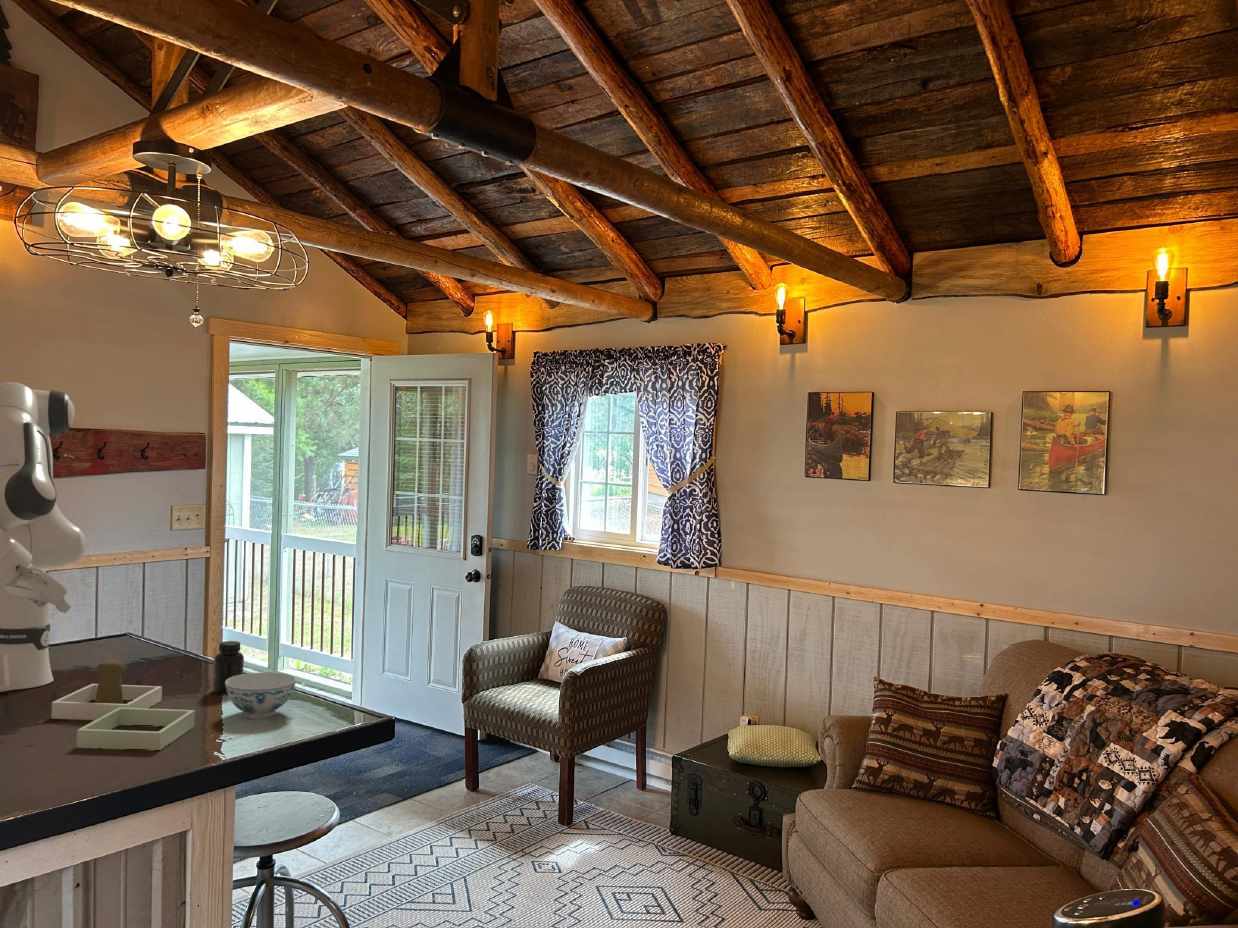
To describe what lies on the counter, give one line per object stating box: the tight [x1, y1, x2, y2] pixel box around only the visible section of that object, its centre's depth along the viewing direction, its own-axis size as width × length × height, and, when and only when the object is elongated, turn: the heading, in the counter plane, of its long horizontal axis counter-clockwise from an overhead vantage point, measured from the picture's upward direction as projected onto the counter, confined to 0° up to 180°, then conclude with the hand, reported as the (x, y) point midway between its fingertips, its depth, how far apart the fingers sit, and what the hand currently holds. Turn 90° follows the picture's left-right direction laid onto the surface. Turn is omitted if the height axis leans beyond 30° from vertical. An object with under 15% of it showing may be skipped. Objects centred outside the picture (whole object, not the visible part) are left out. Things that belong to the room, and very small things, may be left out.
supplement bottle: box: [212, 640, 245, 695], centre depth 223 cm, size 7×7×12 cm
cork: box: [94, 659, 125, 704], centre depth 203 cm, size 6×6×11 cm
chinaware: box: [225, 671, 297, 719], centre depth 205 cm, size 15×15×8 cm
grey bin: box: [51, 683, 163, 721], centre depth 203 cm, size 16×16×4 cm
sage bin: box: [75, 708, 196, 751], centre depth 186 cm, size 16×16×4 cm
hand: (55, 607), depth 192 cm, fingers open, 8 cm apart
